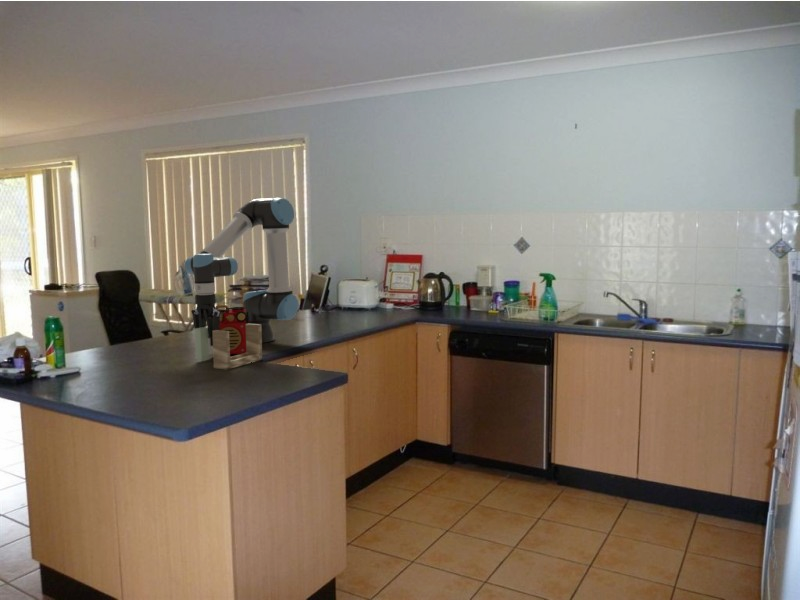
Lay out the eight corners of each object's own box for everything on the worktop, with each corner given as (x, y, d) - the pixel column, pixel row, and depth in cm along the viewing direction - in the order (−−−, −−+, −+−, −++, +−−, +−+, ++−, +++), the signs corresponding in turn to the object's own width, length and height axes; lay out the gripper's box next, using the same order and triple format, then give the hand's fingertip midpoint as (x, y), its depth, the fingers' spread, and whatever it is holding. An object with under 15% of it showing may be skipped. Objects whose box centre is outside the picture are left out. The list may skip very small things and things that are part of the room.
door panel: (214, 354, 251) (213, 324, 250) (220, 355, 250) (218, 325, 248) (195, 359, 242) (194, 328, 241) (201, 360, 241) (200, 329, 239)
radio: (210, 356, 253) (208, 307, 251) (210, 352, 263) (209, 304, 260) (250, 354, 257) (248, 306, 255) (249, 350, 267) (248, 303, 265)
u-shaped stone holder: (250, 358, 250) (248, 323, 248) (262, 359, 247) (261, 324, 246) (213, 368, 232) (212, 330, 231) (226, 369, 229) (225, 331, 228)
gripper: (182, 293, 243) (185, 353, 246) (213, 295, 236) (216, 357, 239) (196, 291, 250) (199, 349, 253) (227, 293, 242) (230, 353, 245)
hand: (208, 353), depth 246 cm, fingers closed on door panel, 3 cm apart
